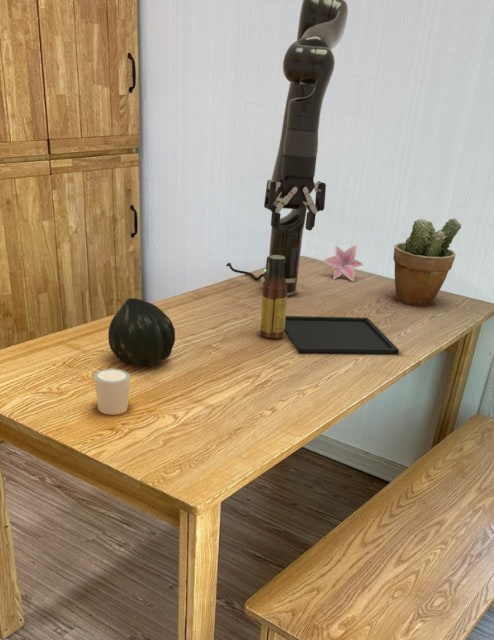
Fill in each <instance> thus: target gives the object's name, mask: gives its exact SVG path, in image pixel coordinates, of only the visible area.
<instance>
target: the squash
mask: <svg viewBox="0 0 494 640" xmlns="http://www.w3.org/2000/svg"><path fill="white" fill-rule="evenodd" d="M107 335H108V346H109V349H110V350H111V351H112V353H113V354H114V355H115V356H116V358H117V359H118V360H119V361H120V362H123V363H126V364H132V365H133V366H134V367H143V366H144V365H145V364H146V365H147V366H149V367H154V366H157V365H158V364H159V363H160V361H164V360H166V359H168V358H169V357H170V356H171V354H172V350H173V347H174V346H175V342H176V331H175V326H174V324H173V322H172V320H171V318H170V317H169V316H168V315H167V314H166V313H165V312H164V311H163V310H161V308H159V307H158V306H157V305H155V304H154V303H151V302H148V301H146V300H142V299H139V298H133V297H128V298H127V299H126V300H125V301H124V303H123V304H122V306H121V307H120V308H119V310H118V311H117V312H116V313H115V315H114V316H113V317H112V319H111V321H110V324H109V327H108V334H107Z"/></svg>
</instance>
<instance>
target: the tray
mask: <svg viewBox="0 0 494 640" xmlns="http://www.w3.org/2000/svg"><path fill="white" fill-rule="evenodd" d="M284 333H286V335H287V337H288V338H289V340H290V341H291V343H292V344H293V345H294V348H295V349H296V350H297V351H298V353H299V354H326V355H327V354H331V355H334V354H336V355H339V354H340V355H399V352H400V349H399V348H398V347H397V346H396V345H395V344H394V343H393V342H392V341H391V340H390V339H389V338H388V337H387V336H386V335H385V334H384V333H383V332H382V331H381V330H380V329H379V328H378V326H377V325H375V324H374V322H372V320H371V319H370V318H368V317H353V316H350V317H349V316H347V317H346V316H313V315H311V316H310V315H308V316H307V315H306V316H305V315H286V318H285V330H284Z"/></svg>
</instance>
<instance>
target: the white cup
mask: <svg viewBox="0 0 494 640" xmlns="http://www.w3.org/2000/svg"><path fill="white" fill-rule="evenodd" d="M93 381H94V389H95V394H96V402H97V403H96V404H97V409H98V411H99V412H100V413H101V414H105V415H111V416H114V415H121V414H124V413H125V412H127V410H128V405H129V396H130V395H129V394H130V384H131V383H130V382H131V374H130V373H129V372H127V371H126V370H123V369H118V368H104V369H100V370H97V371H95V372H94V373H93Z"/></svg>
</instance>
